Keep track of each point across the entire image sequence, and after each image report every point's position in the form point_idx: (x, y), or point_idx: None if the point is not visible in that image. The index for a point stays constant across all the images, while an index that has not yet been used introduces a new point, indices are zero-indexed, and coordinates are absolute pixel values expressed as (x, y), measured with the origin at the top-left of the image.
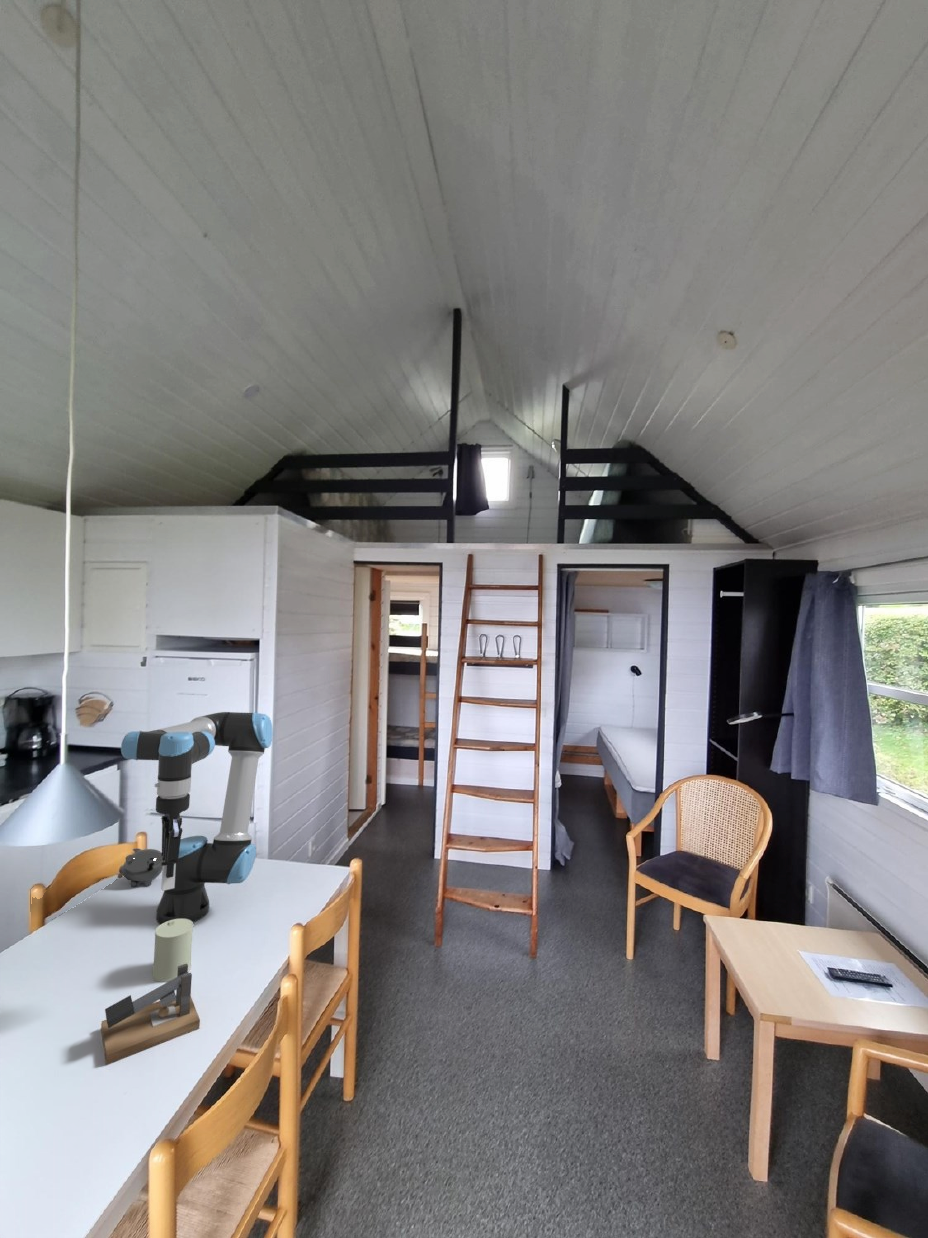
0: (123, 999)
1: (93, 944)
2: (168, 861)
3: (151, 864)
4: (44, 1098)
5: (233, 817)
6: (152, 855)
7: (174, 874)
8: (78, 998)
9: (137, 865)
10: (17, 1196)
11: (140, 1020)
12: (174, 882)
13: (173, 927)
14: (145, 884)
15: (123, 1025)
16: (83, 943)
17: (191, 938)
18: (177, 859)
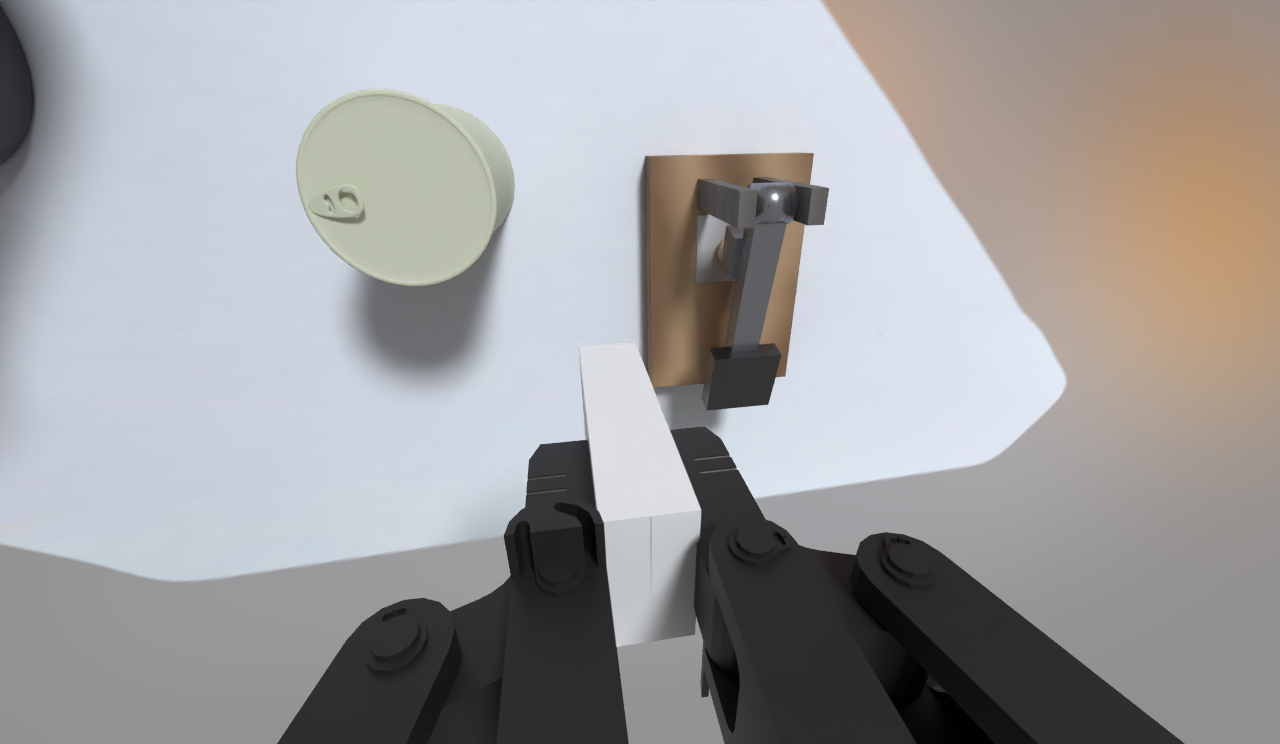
0: (714, 375)
1: (143, 407)
2: (945, 702)
3: None
4: (786, 455)
5: None
6: None
7: (660, 414)
8: (476, 427)
9: None
10: (951, 462)
11: (709, 305)
12: (644, 367)
13: (394, 200)
14: None
15: (702, 343)
16: (126, 434)
17: (442, 108)
18: (994, 607)
